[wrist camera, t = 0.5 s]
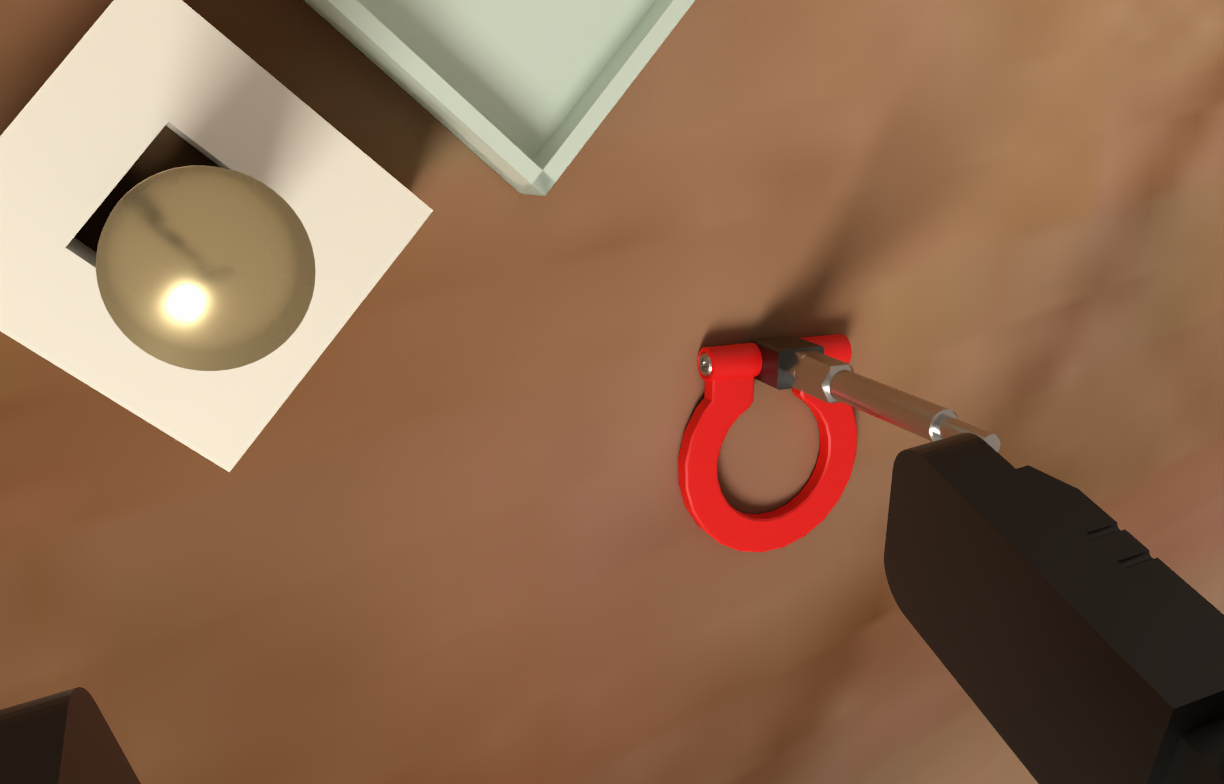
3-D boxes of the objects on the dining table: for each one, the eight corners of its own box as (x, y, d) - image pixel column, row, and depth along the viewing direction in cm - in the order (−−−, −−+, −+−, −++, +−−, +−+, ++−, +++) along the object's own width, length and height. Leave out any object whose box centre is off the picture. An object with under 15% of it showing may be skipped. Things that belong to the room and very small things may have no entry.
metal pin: (83, 236, 31) (48, 289, 19) (166, 134, 32) (184, 121, 19) (198, 314, 33) (233, 409, 21) (274, 217, 34) (355, 254, 21)
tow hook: (835, 526, 47) (850, 326, 44) (1059, 664, 35) (1095, 406, 33) (670, 557, 43) (675, 343, 41) (858, 720, 32) (882, 437, 29)
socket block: (-78, 251, 30) (-107, 264, 26) (141, -12, 31) (141, -34, 27) (219, 439, 34) (229, 472, 31) (403, 204, 35) (433, 210, 32)
